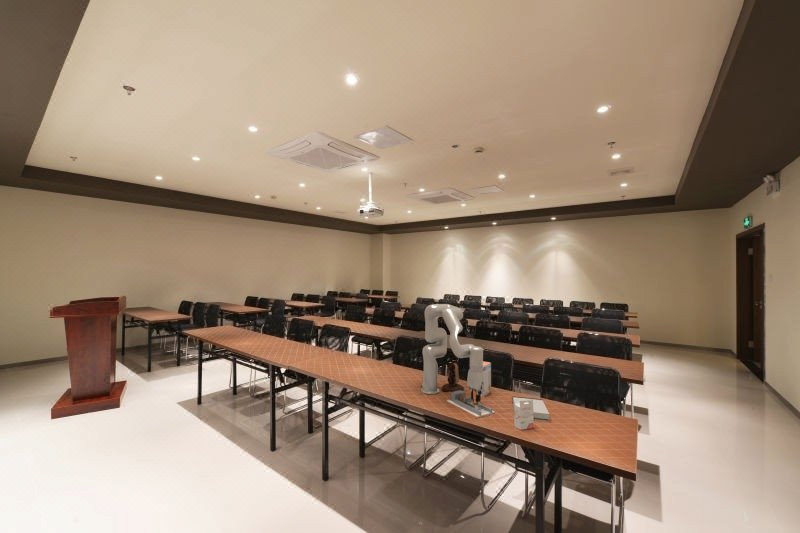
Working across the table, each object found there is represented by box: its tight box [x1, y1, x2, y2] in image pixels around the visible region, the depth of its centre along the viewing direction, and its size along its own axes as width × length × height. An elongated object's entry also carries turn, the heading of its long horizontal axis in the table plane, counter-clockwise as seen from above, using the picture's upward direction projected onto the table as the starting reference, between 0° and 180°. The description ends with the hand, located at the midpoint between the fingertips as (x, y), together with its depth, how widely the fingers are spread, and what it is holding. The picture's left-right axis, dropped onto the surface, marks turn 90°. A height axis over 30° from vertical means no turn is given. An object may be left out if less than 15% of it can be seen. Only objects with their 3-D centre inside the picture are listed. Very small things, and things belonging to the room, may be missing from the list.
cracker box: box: [481, 360, 492, 398], centre depth 225 cm, size 14×6×21 cm, turn 142°
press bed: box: [446, 390, 496, 420], centre depth 201 cm, size 27×14×6 cm, turn 31°
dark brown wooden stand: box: [441, 360, 465, 393], centre depth 233 cm, size 15×15×20 cm
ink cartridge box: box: [513, 400, 534, 431], centre depth 177 cm, size 9×5×15 cm, turn 106°
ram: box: [464, 389, 482, 410], centre depth 199 cm, size 9×6×11 cm
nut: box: [460, 395, 467, 403], centre depth 206 cm, size 4×4×4 cm
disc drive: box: [511, 396, 550, 423], centre depth 198 cm, size 18×22×5 cm
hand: (475, 399), depth 197 cm, fingers closed on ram, 3 cm apart
